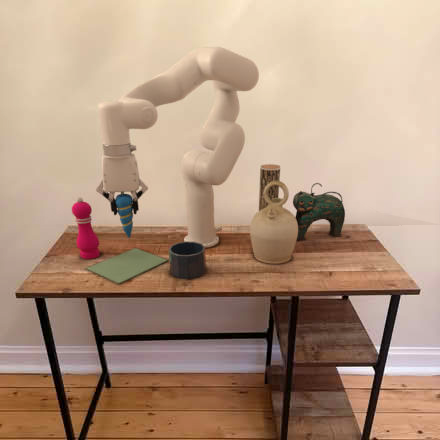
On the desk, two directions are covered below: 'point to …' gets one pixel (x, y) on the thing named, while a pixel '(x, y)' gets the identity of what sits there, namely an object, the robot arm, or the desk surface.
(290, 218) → the jug
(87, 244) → the pepper mill
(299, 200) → the ceramic cat
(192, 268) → the crock
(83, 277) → the desk surface
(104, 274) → the mat
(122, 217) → the ornament
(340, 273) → the desk surface
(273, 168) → the wooden log
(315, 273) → the desk surface
